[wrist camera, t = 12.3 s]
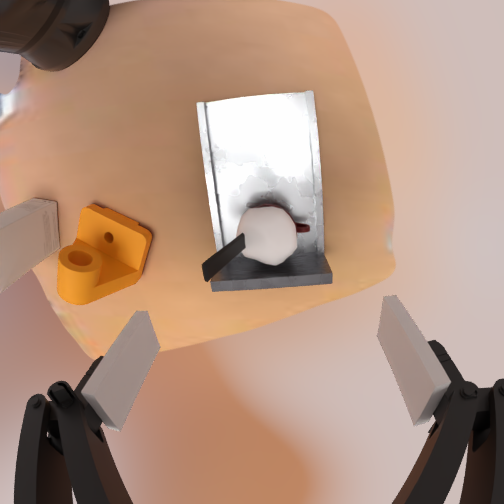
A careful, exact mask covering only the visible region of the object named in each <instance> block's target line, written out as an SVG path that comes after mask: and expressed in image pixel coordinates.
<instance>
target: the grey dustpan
mask: <svg viewBox="0 0 504 504" xmlns="http://www.w3.org/2000/svg"><path fill="white" fill-rule="evenodd" d="M196 104H197V113H198V122H199V130H200V138H201V146H202V154H203V162H204V169H205V177H206V184H207V191H208V198H209V204H210V211H211V218H212V224H213V231H214V237H215V243H216V249H217V252H218V251H219V250H220V249H222V248H223V247H224V246H226V245H227V244H228V243H230V242H231V241H232V240H234V239H235V238H236V233H237V228H238V225H239V222H240V219H241V216H242V215H243V214H244V213H245V212H246V211H247V210H248V209H250V208H252V207H255V206H258V205H261V204H264V203H267V204H275V205H279V206H280V207H282V208H283V209H285V210H287V211H288V212H289V213H290V215H291V216H292V218H293V220H294V221H295V222H298V223H304V224H308V225H309V226H310V231H309V232H305V233H297V248H296V249H295V251H294V252H293V254H292V255H290V256H289V257H288V258H286V260H285V261H284V262H282V263H280V264H278V265H276V266H275V265H269V264H264V263H262V262H260V261H257V260H255V259H251V258H247V257H245V256H244V255H243V253H242V252H240V253H239V254H238V255H237V256H236V257H235V258H234V259H232V260H231V261H230V262H229V263H228V264H227V265H226V266H225V267H223V268H222V269H221V270H220V271H219V272H218V273H217V274H216V275H214V276H213V277H212V279H211V281H210V283H211V288H212V292H216V291H235V290H253V289H268V288H282V287H296V286H308V285H320V284H331V283H332V271H331V269H330V266H329V264H328V262H327V259H326V257H325V255H324V221H323V196H322V179H321V164H320V151H319V140H318V129H317V120H316V111H315V102H314V94H313V91H305V92H302V93H282V94H269V95H258V96H249V97H241V98H233V99H226V100H220V101H213V102H208V103H205V102H199V103H196Z"/></svg>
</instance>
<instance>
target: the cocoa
mask: <svg viewBox="0 0 504 504" xmlns="http://www.w3.org/2000/svg"><path fill="white" fill-rule="evenodd" d="M309 231H310V226H309V225H308V224H304V223H298V222H295V221H294V220H293V218H292V216H291V215H290V213H289V212H288V211H287V210H285V209H283V208H282V207H280V206H279V205H275V204H267V203H264V204H261V205H258V206H255V207H252V208H250V209H248V210H247V211H246V212H245V213H244V214H243V215H242V216H241V219H240V222H239V225H238V228H237V233H236V238H235V239H234V240H232V241H231V242H230V243H228V244H227V245H226V246H224V247H223V248H222V249H220V250H219V251H218V252H217V253H215V254H214V255H213V256H211V257H210V258H209V259H208V260H206V261H205V262H204V263H203V264H202V270H203V275H204V279H205V281H207V282H208V281H209V280H210V279H211V278H212V277H213V276H214V275H216V274H217V273H218V272H219V271H220V270H221V269H222V268H223V267H225V266H226V265H227V264H228V263H229V262H230V261H231V260H232V259H234V258H235V257H236V256H237V255H238V254H239V253H240V252H242V253H243V255H244V256H245V257H247V258H251V259H255V260H257V261H260V262H262V263H264V264H269V265H275V266H276V265H278V264H280V263H282V262H284V261H285V260H286V258H288V257H289V256H290V255H292V254H293V252H294V251H295V249H296V248H297V233H305V232H309Z"/></svg>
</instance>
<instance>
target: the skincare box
mask: <svg viewBox="0 0 504 504" xmlns="http://www.w3.org/2000/svg"><path fill="white" fill-rule="evenodd" d="M59 248H60V242H59V232H58V218H57V202H55V201H49V200H43V199H36V198H32V199H30V200H28V201H25V202H23V203H21V204H19V205H16V206H14V207H12V208H10V209H8V210H5V211H3V212H1V213H0V294H1V293H2V292H3V291H4V290H6V289H7V288H8V287H9V286H10V285H12V284H13V283H14V282H15V281H17V280H18V279H19V278H20V277H22V276H23V275H24V274H25V273H27V272H28V271H29V270H31V269H32V268H33V267H35V266H36V265H37V264H39V263H40V262H41V261H43V260H44V259H45V258H47V257H48V256H50V255H51V254H52V253H54V252H55V251H57V250H58V249H59Z"/></svg>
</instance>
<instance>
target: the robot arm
mask: <svg viewBox="0 0 504 504" xmlns="http://www.w3.org/2000/svg"><path fill="white" fill-rule="evenodd" d="M108 13H109V0H0V52H7V53H14V54H19V55H21V56H22V57H24V58H25V59H27V60H28V61H30V62H31V63H32V64H33V65H34V66H35V67H36V68H38V69H41V70H46V71H59V70H62V69H64V68H66V67H68V66H70V65H71V64H73V63H74V62H75V61H77V60H78V59H79V58H80V57H81V56H82V55H83V54H84V53H85V52H86V51H87V50H88V49H89V48H90V47H91V45H92V44H93V43H94V41H95V40H96V39H97V37H98V36H99V34H100V32H101V30H102V29H103V27H104V25H105V22H106V20H107V17H108ZM377 337H378V339H379V341H380V344H381V346H382V348H383V350H384V353H385V355H386V357H387V360H388V362H389V364H390V366H391V369H392V371H393V374H394V375H395V378H396V381H397V383H398V386H399V388H400V391H401V393H402V396H403V398H404V401H405V403H406V406H407V408H408V411H409V414H410V416H411V419H412V422H413V425H414V426H416V425H419V424H423V423H426V422H428V421H429V420H430V418H431V417H432V415H434V417H435V420H436V421H435V423H434V424H433V425H432V427H431V428H430V430H429V432H428V433H430V434H429V436H428V438H427V441H426V443H425V445H424V447H423V449H422V451H421V453H420V455H419V457H418V459H417V461H416V463H415V465H414V467H413V469H412V471H411V473H410V475H409V476H408V478H407V480H406V482H405V483H404V485H403V487H402V488H401V490H400V492H399V493H398V495H397V496H396V498H395V500H394V501H393V503H392V504H443V503H444V501H445V499H446V497H447V495H448V493H449V491H450V489H451V486H452V484H453V482H454V479H455V477H456V474H457V472H458V470H459V467H460V464H461V462H462V459H463V456H464V453H465V450H466V447H467V444H468V453H467V463H466V471H465V477H464V483H463V489H462V494H461V499H460V503H459V504H504V379H499V380H498V381H496V383H495V384H494V386H493V387H491V388H478V387H477V386H476V385H475V384H474V383H472V382H468V381H465V380H464V379H463V377H462V375H461V374H460V372H459V371H458V369H457V367H456V366H455V364H454V362H453V361H452V360H451V358H450V356H449V355H448V354H447V352H446V350H445V348H444V347H443V346H442V345H441V344H440V343H439V342H437V341H436V340H432V341H428V342H427V341H426V339H425V338H424V336H423V334H422V333H421V331H420V330H419V328H418V327H417V325H416V324H415V322H414V321H413V319H412V318H411V316H410V315H409V313H408V312H407V310H406V309H405V307H404V306H403V304H402V303H401V302H400V300H399V299H398V297H397V296H396V295H392V296H385V297H383V304H382V311H381V317H380V323H379V329H378V334H377ZM159 349H160V345H159V342H158V340H157V337H156V334H155V331H154V329H153V326H152V323H151V320H150V317H149V314H148V311H136V312H135V313H134V315H133V316H132V317H131V319H130V320H129V322H128V323H127V324H126V326H125V327H124V329H123V330H122V331H121V333H120V334H119V336H118V337H117V339H116V340H115V341H114V343H113V344H112V346H111V347H110V349H109V350H108V352H107V353H106V354H105V356H100V357H99V358H98V359H96V360H95V361H94V362H93V364H92V365H91V367H90V368H89V370H88V371H87V372H86V375H84V377H83V378H82V380H81V381H80V383H79V384H78V386H77V387H76V389H75V390H74V391H73V390H72V388H71V387H70V385H69V384H68V383H67V382H65V381H58V382H56V383H54V384H52V385H51V386H50V388H49V389H48V392H47V395H48V396H49V397H50V399H51V400H52V401H48V400H47V399H46V398H45V396H44V395H42V394H36V395H34V396H32V397H31V398H30V399H29V400H28V402H27V406H26V410H25V414H24V419H23V424H22V429H21V434H20V440H19V446H18V454H17V461H16V472H15V485H14V504H73V498H72V488H73V492H74V495H75V498H76V501H77V504H133V502H132V500H131V498H130V496H129V494H128V492H127V490H126V488H125V486H124V484H123V481H122V479H121V477H120V475H119V472H118V470H117V468H116V465H115V463H114V460H113V457H112V455H111V452H110V449H109V447H108V444H107V441H106V438H105V436H104V432H103V430H102V428H101V427H100V425H101V424H102V422H103V423H104V424H105V425H106V426H107V428H109V429H113V430H116V431H121V429H122V427H123V425H124V423H125V421H126V418H127V416H128V414H129V412H130V410H131V407H132V405H133V403H134V401H135V398H136V397H137V394H138V392H139V390H140V388H141V386H142V384H143V382H144V380H145V377H146V376H147V374H148V372H149V370H150V367H151V365H152V363H153V361H154V359H155V357H156V355H157V353H158V351H159ZM47 432H48V433H49V434H48V437H47Z"/></svg>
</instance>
